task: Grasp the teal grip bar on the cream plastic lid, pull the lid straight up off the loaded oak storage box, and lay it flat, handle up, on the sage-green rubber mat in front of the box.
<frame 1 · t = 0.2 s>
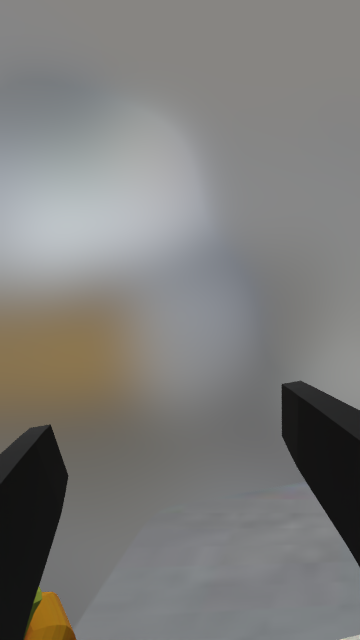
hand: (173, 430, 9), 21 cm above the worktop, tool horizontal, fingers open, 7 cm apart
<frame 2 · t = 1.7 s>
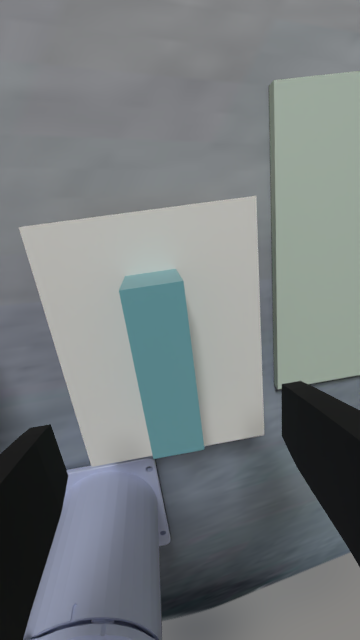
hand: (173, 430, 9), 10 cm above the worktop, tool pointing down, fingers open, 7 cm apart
lid: (162, 343, 15), point 3 cm above the worktop, touching storage box
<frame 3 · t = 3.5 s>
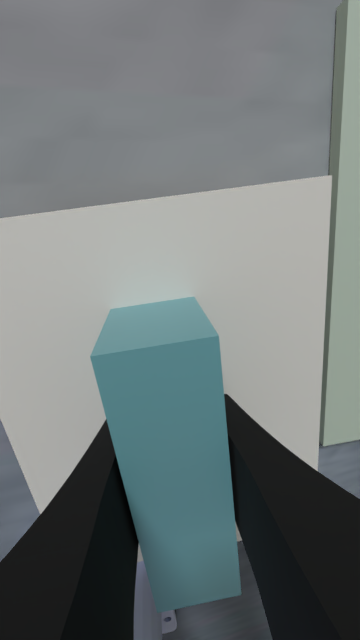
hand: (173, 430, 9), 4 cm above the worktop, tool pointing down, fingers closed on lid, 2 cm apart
lid: (169, 403, 10), point 3 cm above the worktop, touching gripper, storage box
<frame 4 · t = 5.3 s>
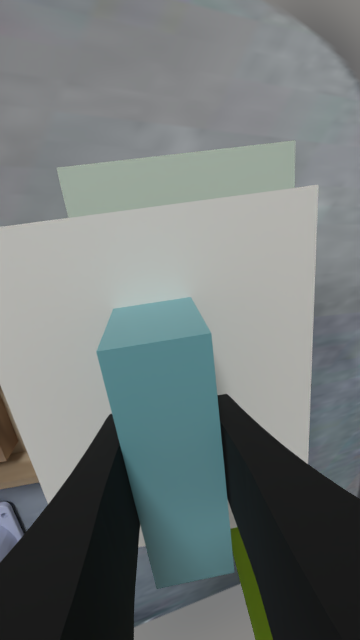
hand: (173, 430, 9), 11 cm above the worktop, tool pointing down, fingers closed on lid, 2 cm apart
mat: (194, 309, 19), on the worktop
lid: (168, 396, 11), point 8 cm above the worktop, touching gripper
soap dispenser: (260, 509, 26), on the worktop
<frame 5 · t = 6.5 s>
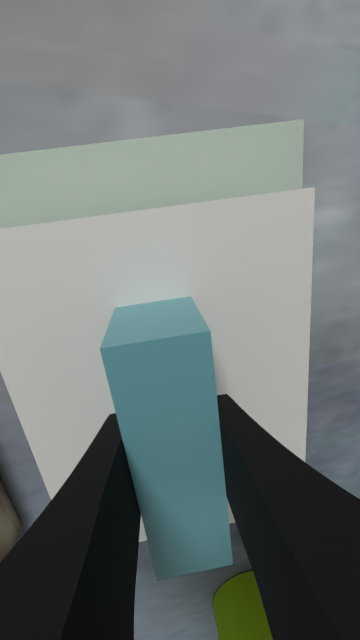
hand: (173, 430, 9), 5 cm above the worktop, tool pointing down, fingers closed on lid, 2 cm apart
mat: (163, 357, 14), on the worktop
lid: (169, 394, 11), point 3 cm above the worktop, touching gripper
soap dispenser: (257, 589, 21), on the worktop
when the fingers open (4 cm above the worktop, at t = 7.4 s): lid stays where it is, resting on mat.
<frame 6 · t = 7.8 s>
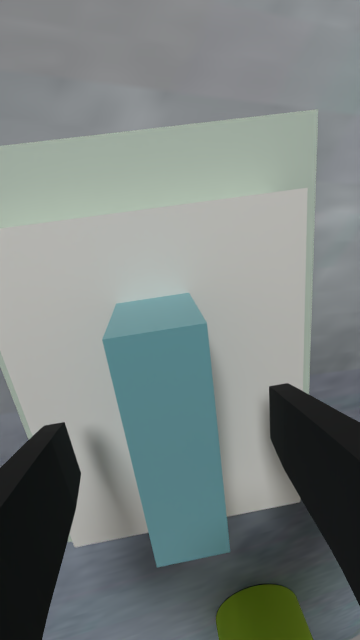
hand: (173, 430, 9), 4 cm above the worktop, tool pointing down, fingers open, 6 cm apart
mat: (165, 365, 13), on the worktop
lid: (168, 388, 11), point 2 cm above the worktop, touching mat
soap dispenser: (261, 604, 20), on the worktop
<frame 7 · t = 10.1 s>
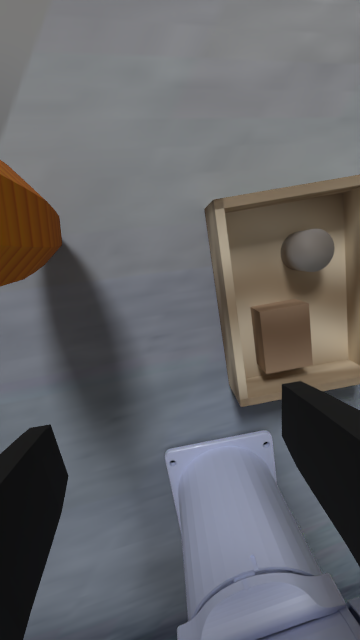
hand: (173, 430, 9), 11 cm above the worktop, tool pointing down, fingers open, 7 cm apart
carrot: (51, 235, 17), on the worktop
storage box: (283, 291, 19), on the worktop
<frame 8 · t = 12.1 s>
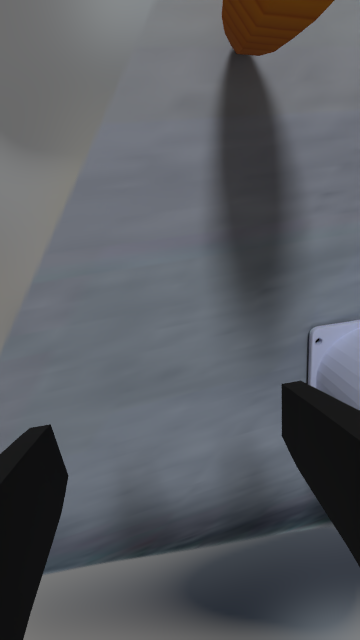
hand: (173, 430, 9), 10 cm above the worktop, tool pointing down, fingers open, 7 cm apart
carrot: (238, 48, 14), on the worktop
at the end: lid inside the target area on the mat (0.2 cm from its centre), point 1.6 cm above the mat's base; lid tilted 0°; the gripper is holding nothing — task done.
